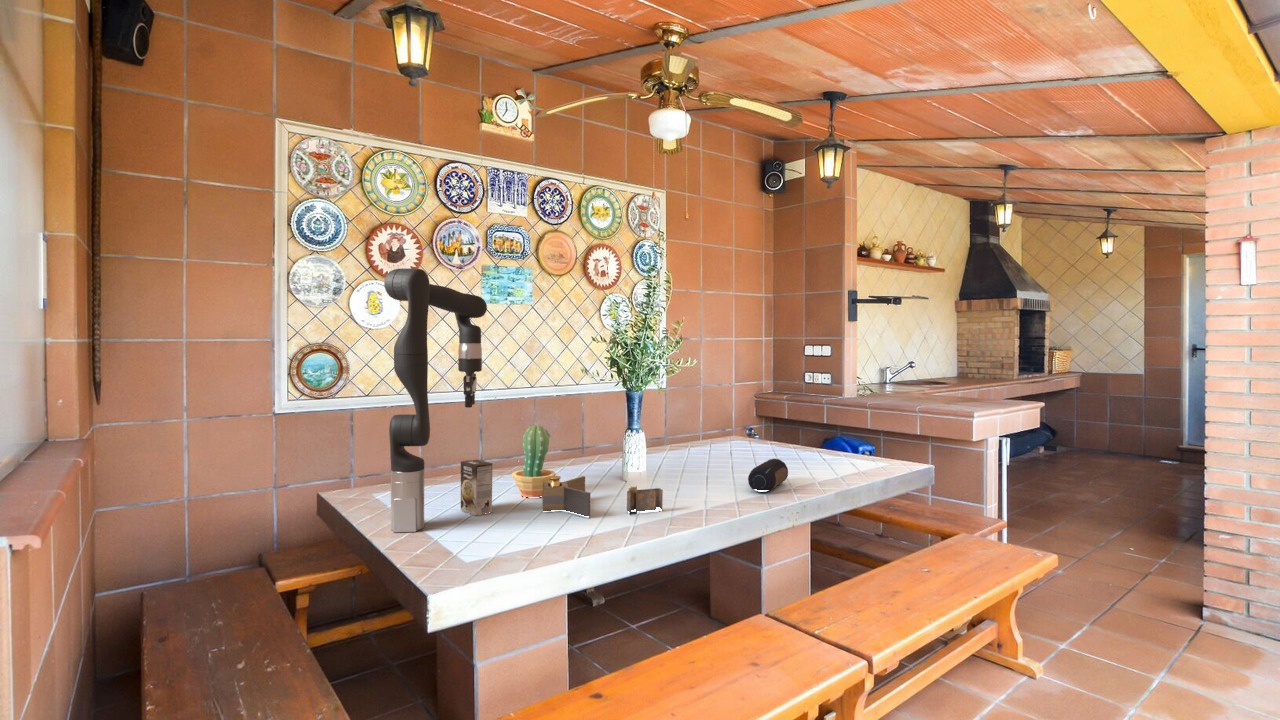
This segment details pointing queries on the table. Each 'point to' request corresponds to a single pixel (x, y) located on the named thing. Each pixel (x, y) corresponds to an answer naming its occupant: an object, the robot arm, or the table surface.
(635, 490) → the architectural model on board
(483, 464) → the coffee box
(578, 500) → the hinge
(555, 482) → the hinge pin
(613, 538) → the table surface
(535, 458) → the potted cactus
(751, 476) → the portable speaker
